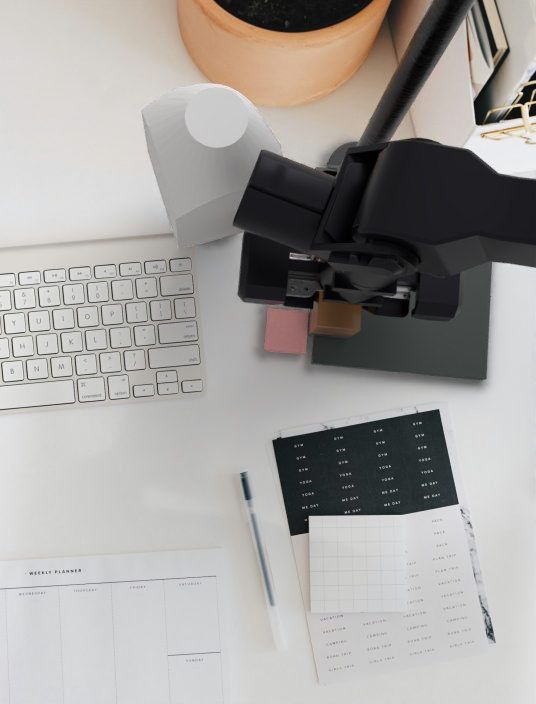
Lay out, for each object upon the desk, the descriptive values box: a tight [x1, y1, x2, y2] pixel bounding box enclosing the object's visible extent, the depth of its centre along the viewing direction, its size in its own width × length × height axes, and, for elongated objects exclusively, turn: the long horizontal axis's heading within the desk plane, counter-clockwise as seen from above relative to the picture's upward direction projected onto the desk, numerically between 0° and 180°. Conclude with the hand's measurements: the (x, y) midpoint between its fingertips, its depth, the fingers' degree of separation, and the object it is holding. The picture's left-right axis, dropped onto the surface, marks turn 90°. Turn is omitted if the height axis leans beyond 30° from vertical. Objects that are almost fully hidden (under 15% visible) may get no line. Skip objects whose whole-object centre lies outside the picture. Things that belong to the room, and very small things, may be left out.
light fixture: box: [140, 82, 284, 249], centre depth 63 cm, size 9×9×20 cm
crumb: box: [263, 307, 309, 355], centre depth 71 cm, size 4×4×1 cm
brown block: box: [307, 259, 362, 339], centre depth 69 cm, size 4×8×5 cm, turn 175°
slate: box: [310, 262, 493, 381], centre depth 72 cm, size 17×13×1 cm
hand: (332, 295), depth 71 cm, fingers closed on brown block, 4 cm apart
